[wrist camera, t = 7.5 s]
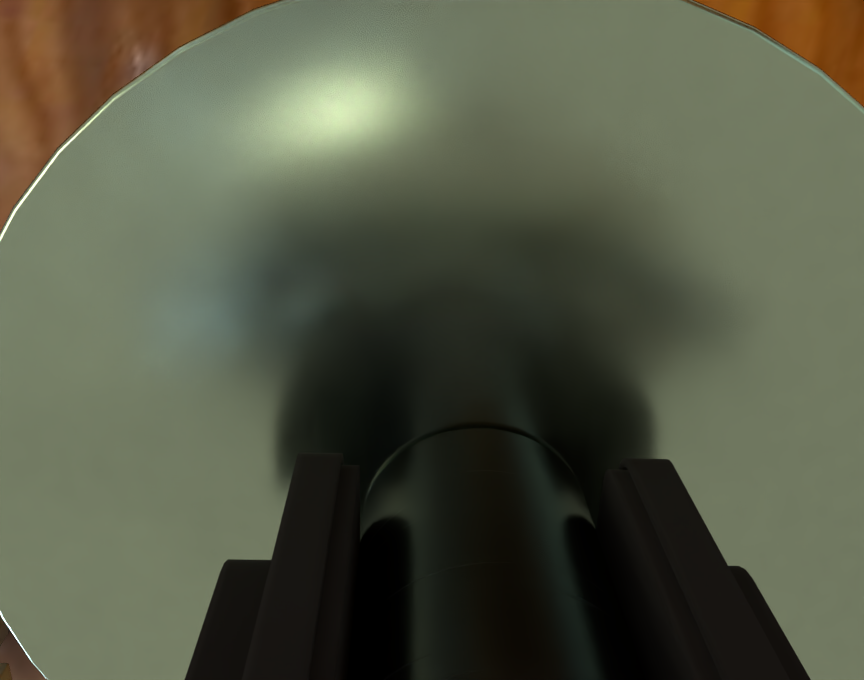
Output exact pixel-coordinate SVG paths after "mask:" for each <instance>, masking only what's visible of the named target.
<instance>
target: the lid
mask: <svg viewBox="0 0 864 680" xmlns="http://www.w3.org/2000/svg"><path fill="white" fill-rule="evenodd" d="M298 453H343V459H344V465H359V466H360V549H359V560H358V570H357V581H356V591H355V602H354V613H353V623H352V634H351V644H350V655H349V665H348V676H347V680H646V678H645V675H644V672H643V669H642V666H641V663H640V660H639V657H638V654H637V651H636V648H635V645H634V642H633V639H632V636H631V633H630V630H629V627H628V624H627V621H626V618H625V616H624V613H623V610H622V607H621V604H620V601H619V598H618V595H617V592H616V589H615V586H614V583H613V580H612V577H611V574H610V571H609V568H608V565H607V562H606V559H605V556H604V553H603V550H602V547H601V544H600V541H599V539H598V536H597V533H596V527H597V520H598V513H599V506H600V499H601V492H602V485H603V479H604V474H605V472H606V471H607V470H608V469H612V470H618V469H619V465H620V463H621V460H623V459H624V458H642V459H668V460H670V461H671V462H672V464H673V465H674V467H675V469H676V471H677V473H678V475H679V476H680V478H681V480H682V482H683V484H684V486H685V487H686V489H687V491H688V493H689V495H690V497H691V498H692V500H693V502H694V504H695V506H696V508H697V509H698V511H699V513H700V515H701V517H702V519H703V520H704V522H705V524H706V526H707V528H708V530H709V532H710V533H711V535H712V537H713V539H714V541H715V543H716V544H717V546H718V548H719V550H720V552H721V554H722V555H723V557H724V559H725V561H726V563H727V565H728V566H740V567H742V568H744V569H746V570H747V572H748V573H749V574H750V576H751V577H752V578H753V580H754V581H755V583H756V585H757V587H758V588H759V590H760V592H761V594H762V595H763V597H764V599H765V601H766V602H767V604H768V606H769V608H770V609H771V611H772V613H773V615H774V616H775V618H776V620H777V622H778V623H779V625H780V627H781V629H782V630H783V632H784V634H785V635H786V637H787V639H788V641H789V642H790V644H791V646H792V648H793V649H794V651H795V653H796V655H797V656H798V658H799V660H800V662H801V663H802V665H803V667H804V669H805V670H806V672H807V674H808V676H809V677H810V679H811V680H864V106H862V105H861V104H860V103H859V102H858V101H857V100H856V99H855V98H853V97H852V96H851V95H850V94H849V93H848V92H847V91H846V90H844V89H843V88H842V87H841V86H840V85H839V84H838V83H836V82H835V81H834V80H833V79H832V78H831V77H830V76H829V75H827V74H826V73H825V72H824V71H823V70H822V69H821V68H819V67H817V66H816V65H814V64H813V63H811V62H810V61H808V60H806V59H805V58H803V57H802V56H800V55H799V54H797V53H795V52H794V51H792V50H791V49H789V48H787V47H786V46H784V45H783V44H781V43H780V42H778V41H776V40H775V39H773V38H772V37H770V36H769V35H767V34H765V33H764V32H762V31H761V30H759V29H757V28H756V27H754V26H752V25H750V24H747V23H745V22H743V21H740V20H738V19H736V18H734V17H731V16H729V15H727V14H724V13H722V12H720V11H717V10H715V9H713V8H710V7H708V6H706V5H704V4H701V3H699V2H697V1H694V0H279V1H276V2H273V3H270V4H267V5H264V6H261V7H258V8H255V9H252V10H250V11H248V12H246V13H245V14H243V15H241V16H239V17H237V18H235V19H233V20H231V21H229V22H227V23H225V24H223V25H221V26H219V27H217V28H215V29H213V30H211V31H209V32H207V33H205V34H203V35H201V36H199V37H197V38H195V39H193V40H191V41H189V42H187V43H185V44H183V45H182V46H180V47H178V48H177V49H175V50H174V51H172V52H171V53H169V54H168V55H167V56H165V57H164V58H162V59H161V60H160V61H158V62H157V63H155V64H154V65H153V66H151V67H150V68H148V69H147V70H146V71H144V72H143V73H141V74H140V75H139V76H137V77H136V78H134V79H133V80H132V81H130V82H129V83H127V84H126V85H125V86H123V87H122V88H120V89H119V90H118V91H116V92H115V93H113V94H112V95H111V96H110V97H109V98H108V99H107V100H106V101H105V102H104V103H103V104H102V105H101V106H100V107H99V108H98V109H97V110H96V111H95V112H94V113H93V114H92V115H91V116H90V117H89V118H88V119H87V120H85V121H84V122H83V123H82V124H81V125H80V126H79V127H78V128H77V129H76V130H75V131H74V132H73V133H72V134H71V135H70V136H69V137H68V138H67V139H66V140H65V141H64V142H63V143H62V144H61V145H60V146H59V147H58V148H57V149H56V150H55V152H54V153H53V154H52V156H51V157H50V158H49V160H48V161H47V162H46V164H45V165H44V166H43V168H42V169H41V170H40V172H39V173H38V174H37V176H36V177H35V179H34V180H33V181H32V183H31V184H30V185H29V187H28V188H27V189H26V191H25V192H24V193H23V195H22V196H21V197H20V199H19V200H18V201H17V203H16V204H15V205H14V207H13V208H12V210H11V212H10V214H9V216H8V218H7V220H6V222H5V224H4V226H3V228H2V230H1V231H0V615H1V617H2V619H3V620H4V622H5V623H6V625H7V626H8V628H9V629H10V631H11V632H12V634H13V635H14V637H15V638H16V640H17V641H18V643H19V644H20V646H21V647H22V649H23V650H24V651H25V653H26V654H27V656H28V657H29V659H30V660H31V662H32V663H33V664H34V666H35V667H36V668H37V669H38V670H39V671H40V672H41V674H42V675H43V676H44V677H45V678H46V679H47V680H185V677H186V674H187V671H188V668H189V665H190V662H191V659H192V656H193V653H194V650H195V647H196V644H197V641H198V638H199V635H200V632H201V628H202V625H203V622H204V619H205V616H206V613H207V610H208V607H209V604H210V601H211V598H212V595H213V592H214V589H215V586H216V583H217V580H218V577H219V574H220V571H221V569H222V567H223V564H224V563H225V562H226V561H227V560H228V559H243V560H271V559H272V555H273V551H274V547H275V543H276V539H277V535H278V531H279V527H280V523H281V519H282V515H283V511H284V507H285V503H286V499H287V494H288V490H289V486H290V482H291V478H292V474H293V470H294V466H295V462H296V458H297V455H298Z"/></svg>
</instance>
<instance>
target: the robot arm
mask: <svg viewBox="0 0 864 680" xmlns="http://www.w3.org/2000/svg"><path fill="white" fill-rule="evenodd" d="M596 533H597V536H598V539H599V541H600V544H601V547H602V550H603V553H604V556H605V559H606V562H607V565H608V568H609V571H610V574H611V577H612V580H613V583H614V586H615V589H616V592H617V595H618V598H619V601H620V604H621V607H622V610H623V613H624V616H625V618H626V621H627V624H628V627H629V630H630V633H631V636H632V639H633V642H634V645H635V648H636V651H637V654H638V657H639V660H640V663H641V666H642V669H643V672H644V675H645V678H646V680H811V679H810V677H809V676H808V674H807V672H806V670H805V669H804V667H803V665H802V663H801V662H800V660H799V658H798V656H797V655H796V653H795V651H794V649H793V648H792V646H791V644H790V642H789V641H788V639H787V637H786V635H785V634H784V632H783V630H782V629H781V627H780V625H779V623H778V622H777V620H776V618H775V616H774V615H773V613H772V611H771V609H770V608H769V606H768V604H767V602H766V601H765V599H764V597H763V595H762V594H761V592H760V590H759V588H758V587H757V585H756V583H755V581H754V580H753V578H752V577H751V576H750V574H749V573H748V572H747V570H746V569H744V568H742V567H740V566H728V565H727V563H726V561H725V559H724V557H723V555H722V554H721V552H720V550H719V548H718V546H717V544H716V543H715V541H714V539H713V537H712V535H711V533H710V532H709V530H708V528H707V526H706V524H705V522H704V520H703V519H702V517H701V515H700V513H699V511H698V509H697V508H696V506H695V504H694V502H693V500H692V498H691V497H690V495H689V493H688V491H687V489H686V487H685V486H684V484H683V482H682V480H681V478H680V476H679V475H678V473H677V471H676V469H675V467H674V465H673V464H672V462H671V461H670V460H668V459H642V458H624V459H623V460H621V463H620V465H619V469H618V470H612V469H608V470H607V471H606V472H605V474H604V479H603V485H602V492H601V499H600V506H599V513H598V520H597V527H596ZM359 549H360V466H359V465H344V459H343V453H298V455H297V458H296V462H295V466H294V470H293V474H292V478H291V482H290V486H289V490H288V494H287V499H286V503H285V507H284V511H283V515H282V519H281V523H280V527H279V531H278V535H277V539H276V543H275V547H274V551H273V555H272V559H271V560H243V559H228V560H227V561H226V562H225V563H224V564H223V567H222V569H221V571H220V574H219V577H218V580H217V583H216V586H215V589H214V592H213V595H212V598H211V601H210V604H209V607H208V610H207V613H206V616H205V619H204V622H203V625H202V628H201V632H200V635H199V638H198V641H197V644H196V647H195V650H194V653H193V656H192V659H191V662H190V665H189V668H188V671H187V674H186V677H185V680H347V676H348V665H349V655H350V644H351V634H352V623H353V613H354V602H355V591H356V581H357V570H358V560H359Z"/></svg>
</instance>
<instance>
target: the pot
mask: <svg viewBox="0 0 864 680" xmlns="http://www.w3.org/2000/svg"><path fill="white" fill-rule="evenodd" d="M9 630H10V629H9V628H8V626H7V625H6V623H5V622H4V620H3V619H2V617H1V615H0V646H1V644H2V643H3V641H4V640H5V638H6V636H7V635H8V633H9ZM0 680H12V677H11V672H10V667H9V664H8V663H0Z"/></svg>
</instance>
